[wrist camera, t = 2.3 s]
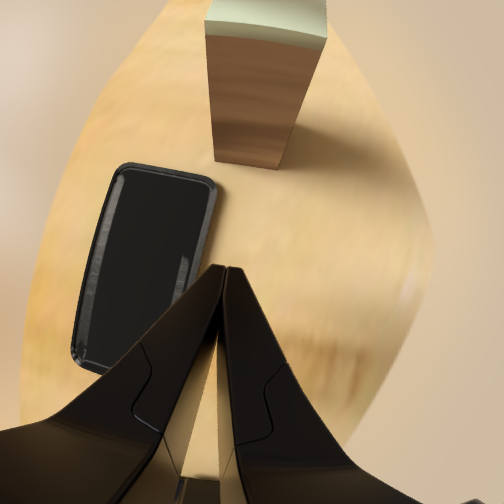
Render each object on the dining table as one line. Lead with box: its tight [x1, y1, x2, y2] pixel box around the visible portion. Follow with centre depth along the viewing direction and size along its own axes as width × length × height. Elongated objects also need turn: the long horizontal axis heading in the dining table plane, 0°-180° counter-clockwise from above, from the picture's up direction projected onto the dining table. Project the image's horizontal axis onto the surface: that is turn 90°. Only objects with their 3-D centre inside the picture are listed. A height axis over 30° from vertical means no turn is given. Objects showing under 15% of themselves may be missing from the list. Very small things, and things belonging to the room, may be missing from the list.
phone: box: [71, 162, 217, 375], centre depth 20 cm, size 8×1×15 cm
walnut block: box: [204, 0, 327, 170], centre depth 16 cm, size 4×4×13 cm
